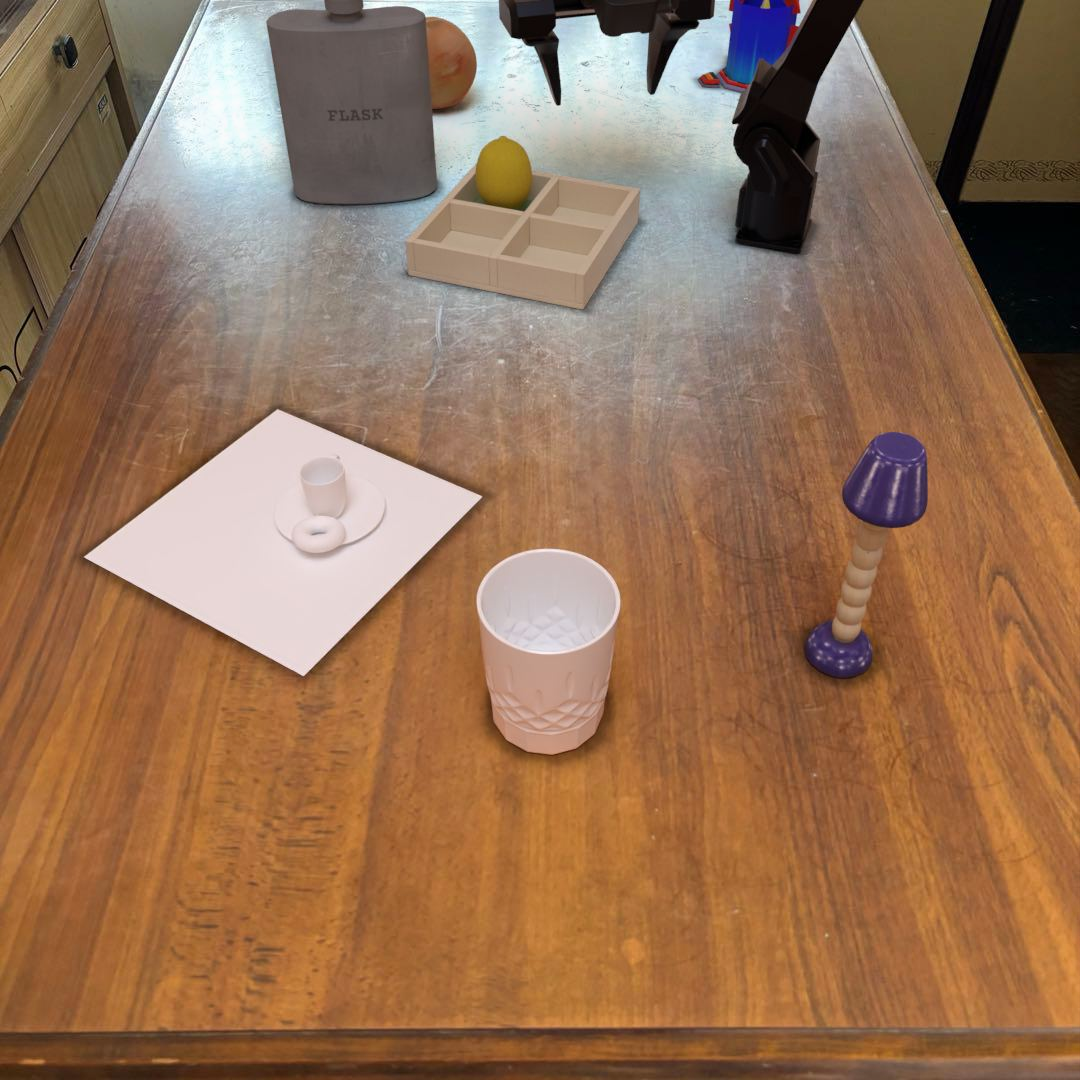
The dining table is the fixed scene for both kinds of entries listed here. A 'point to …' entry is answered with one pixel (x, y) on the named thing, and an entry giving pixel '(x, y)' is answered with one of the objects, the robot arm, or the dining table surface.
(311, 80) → the flask
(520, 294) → the tray
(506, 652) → the white cup
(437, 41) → the onion
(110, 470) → the dining table surface
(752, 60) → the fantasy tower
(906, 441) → the toy lamp
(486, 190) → the lemon
